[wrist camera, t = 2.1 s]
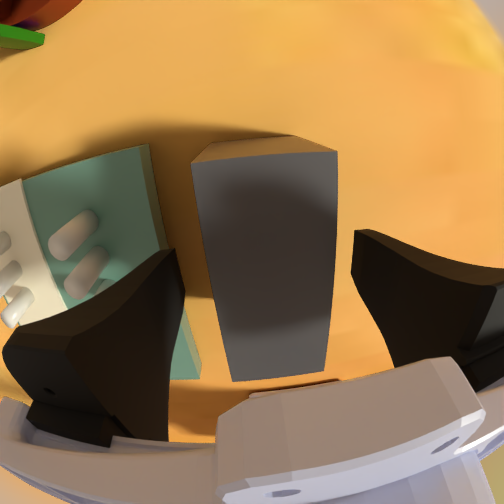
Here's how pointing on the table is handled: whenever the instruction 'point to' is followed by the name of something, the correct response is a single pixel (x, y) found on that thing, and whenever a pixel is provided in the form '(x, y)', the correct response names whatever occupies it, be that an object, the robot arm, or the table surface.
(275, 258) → the block
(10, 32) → the green and brown cylinder
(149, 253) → the header board
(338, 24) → the table surface
